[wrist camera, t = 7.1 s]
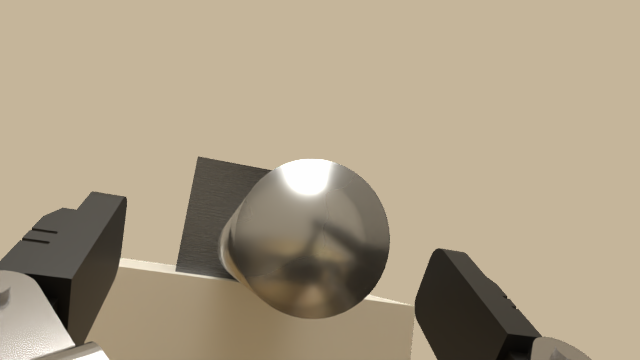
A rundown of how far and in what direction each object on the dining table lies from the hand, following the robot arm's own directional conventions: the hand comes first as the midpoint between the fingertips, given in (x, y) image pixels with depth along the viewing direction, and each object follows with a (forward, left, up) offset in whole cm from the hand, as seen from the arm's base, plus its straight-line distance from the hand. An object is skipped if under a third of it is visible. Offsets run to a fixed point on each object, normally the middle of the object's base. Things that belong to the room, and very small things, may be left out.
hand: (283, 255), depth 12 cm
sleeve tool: (0, -6, -1) cm, 6 cm away
